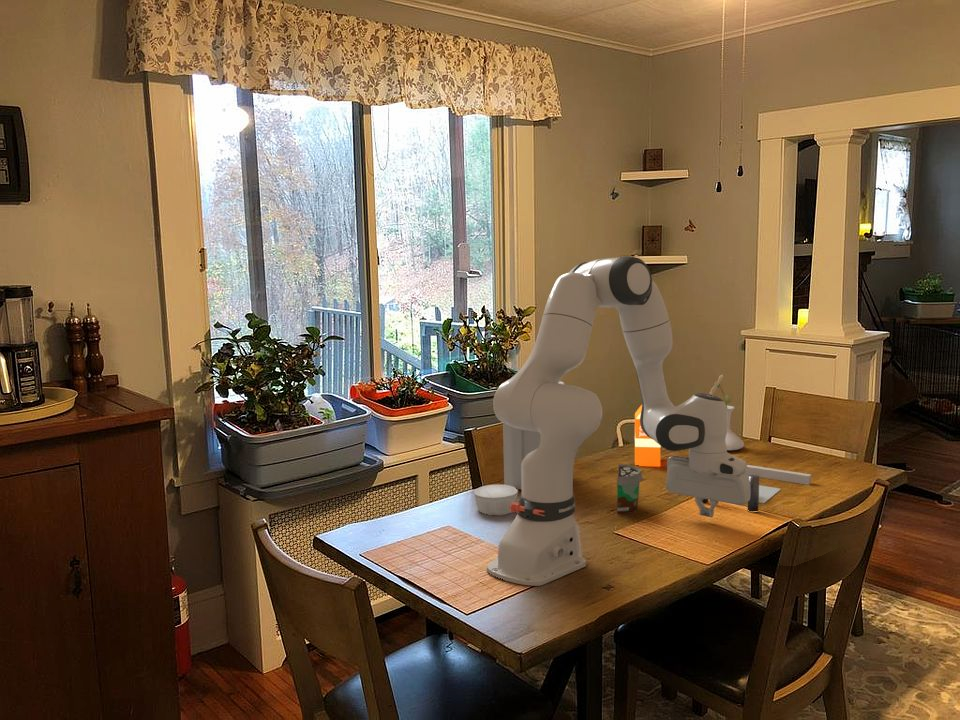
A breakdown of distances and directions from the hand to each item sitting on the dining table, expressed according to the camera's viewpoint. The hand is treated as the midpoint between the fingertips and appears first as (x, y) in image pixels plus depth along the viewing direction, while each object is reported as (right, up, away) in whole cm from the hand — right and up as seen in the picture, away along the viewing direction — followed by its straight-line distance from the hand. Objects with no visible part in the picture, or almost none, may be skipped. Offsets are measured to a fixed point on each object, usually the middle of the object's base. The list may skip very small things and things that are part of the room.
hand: (706, 515), depth 197 cm
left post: (+3, +1, +15) cm, 16 cm away
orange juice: (-3, +6, +53) cm, 53 cm away
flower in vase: (+24, +9, +65) cm, 70 cm away
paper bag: (-36, +2, +33) cm, 49 cm away
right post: (+14, 0, +7) cm, 16 cm away
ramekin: (-51, -1, +13) cm, 52 cm away
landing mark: (+17, +2, +22) cm, 28 cm away
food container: (-16, -1, +12) cm, 20 cm away
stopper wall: (+27, +4, +35) cm, 44 cm away
